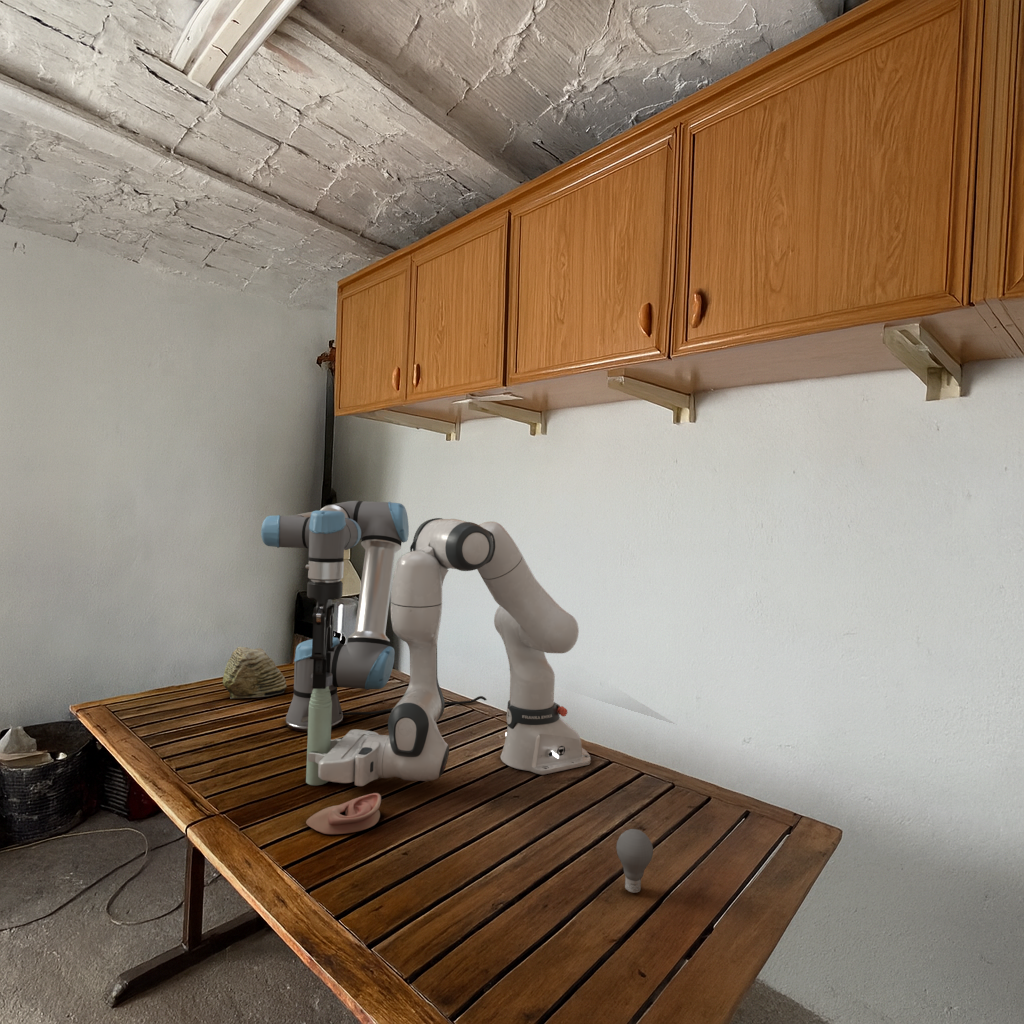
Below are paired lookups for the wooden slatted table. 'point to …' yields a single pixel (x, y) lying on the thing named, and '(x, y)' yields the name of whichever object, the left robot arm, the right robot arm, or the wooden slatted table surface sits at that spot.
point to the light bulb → (634, 857)
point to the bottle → (318, 731)
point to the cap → (328, 679)
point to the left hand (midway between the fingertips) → (321, 684)
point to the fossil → (252, 674)
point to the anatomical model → (347, 816)
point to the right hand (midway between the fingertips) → (314, 750)
